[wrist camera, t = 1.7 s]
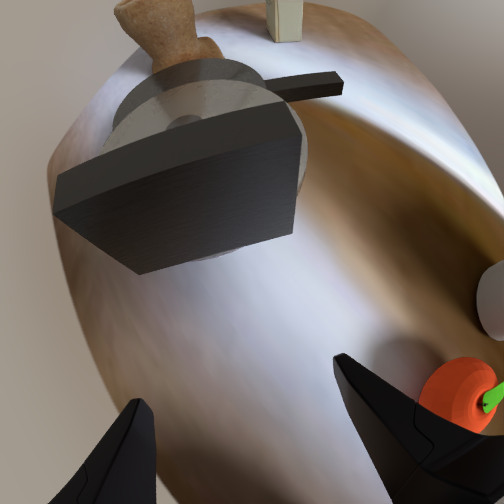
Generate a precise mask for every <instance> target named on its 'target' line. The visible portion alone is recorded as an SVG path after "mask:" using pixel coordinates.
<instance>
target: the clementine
mask: <svg viewBox="0 0 504 504" xmlns="http://www.w3.org/2000/svg"><path fill="white" fill-rule="evenodd" d="M503 397H504V382H503V383H501V384H499V385H498V381H497V377H496V375H495V373H494V371H493V370H492V368H490V367H489V366H488V365H487V364H486V363H484V362H483V361H482V360H479V359H476V358H471V357H461V358H457V359H454V360H452V361H449V362H446V363H445V364H443V365H442V366H441V367H439V368H438V369H437V370H436V371H435V372H434V373H433V374H432V375H431V376H430V377H429V378H428V380H427V382H426V383H425V385H424V387H423V389H422V392H421V394H420V398H419V404H420V405H422V406H423V407H425V408H426V409H428V410H430V411H431V412H433V413H435V414H436V415H438V416H440V417H442V418H444V419H446V420H448V421H450V422H452V423H455V424H457V425H459V426H461V427H463V428H466V429H468V430H470V431H472V432H475V433H479V432H480V431H482V430H483V429H484V428H485V427H486V426H487V424H488V423H489V422H490V420H491V419H492V417H493V415H494V413H495V411H496V408H497V405H498V403H499V402H500V401H501V400H502V398H503Z"/></svg>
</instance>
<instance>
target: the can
mask: <svg viewBox="0 0 504 504" xmlns="http://www.w3.org/2000/svg"><path fill="white" fill-rule="evenodd" d="M477 310H478V315H479V319H480V321H481V324H482V326H483V328H484V330H485V331H486V332H487V334H488V335H489V336H490V337H491V338H493V339H495V340H497V341H501V340H504V260H502V261H500V262H498V263H497V264H495V265H493V266H491V267H489V268H488V269H487V270H486V271H485V272H484V273H483V275H482V277H481V279H480V281H479V284H478V290H477Z"/></svg>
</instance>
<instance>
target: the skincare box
mask: <svg viewBox="0 0 504 504" xmlns="http://www.w3.org/2000/svg"><path fill="white" fill-rule="evenodd" d="M302 15H303V0H266V16H267V29H268V31H269V33H270V35H271V36H272V38H273V40H274V41H275V43H279V42H293V41H301V35H302Z"/></svg>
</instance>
